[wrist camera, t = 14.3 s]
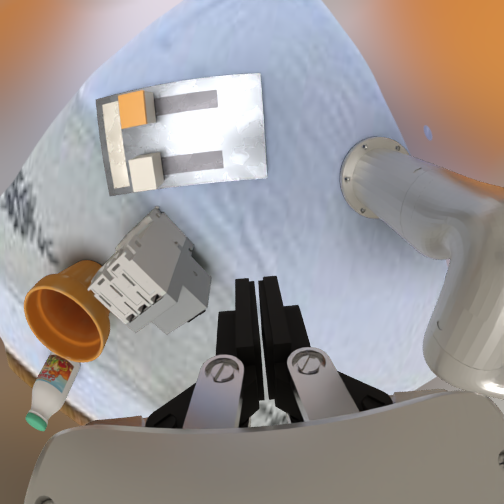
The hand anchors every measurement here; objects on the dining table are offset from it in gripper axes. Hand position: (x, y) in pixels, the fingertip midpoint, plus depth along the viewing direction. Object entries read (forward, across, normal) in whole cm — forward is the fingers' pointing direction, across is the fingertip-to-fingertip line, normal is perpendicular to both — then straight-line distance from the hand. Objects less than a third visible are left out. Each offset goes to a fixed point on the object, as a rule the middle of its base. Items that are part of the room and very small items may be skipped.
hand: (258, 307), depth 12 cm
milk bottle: (+31, +44, +36) cm, 65 cm away
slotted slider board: (+31, +8, -6) cm, 33 cm away
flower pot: (+31, +28, +16) cm, 45 cm away
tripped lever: (+28, +12, -10) cm, 32 cm away
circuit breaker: (+31, +12, +12) cm, 36 cm away
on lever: (+28, +12, -2) cm, 31 cm away
